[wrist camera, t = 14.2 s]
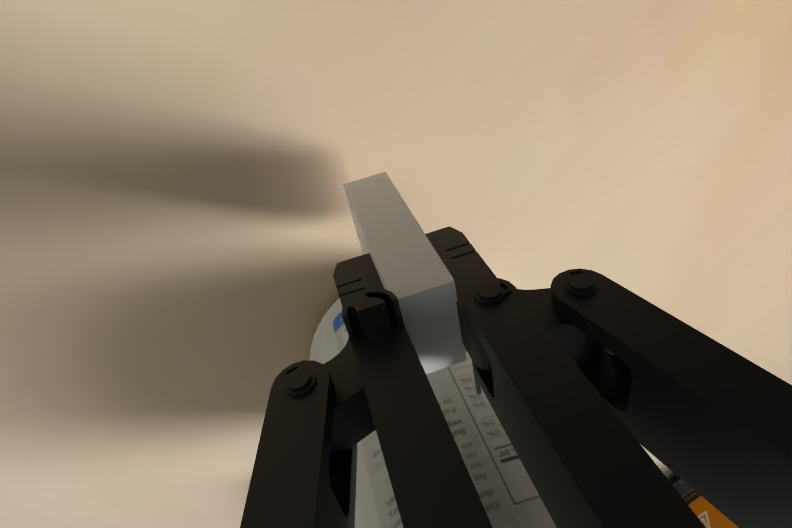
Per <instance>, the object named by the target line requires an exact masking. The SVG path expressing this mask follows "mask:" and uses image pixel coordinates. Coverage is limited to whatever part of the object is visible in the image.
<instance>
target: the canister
mask: <svg viewBox="0 0 792 528" xmlns="http://www.w3.org/2000/svg"><path fill="white" fill-rule="evenodd" d="M671 484H672V485H673V487H674V488H675V489H676V490H677V492H678V493H679V494H680V495H681V497H682V498H683V499H684V500H685V502H686V503H687V504H688V506H689V507H690V508H691V509H692V511H693V512H694V513H695V514H696V516H697V517H698V518H699V519H700V521H701V522H702V523H703V524H704V526H705V527H706V528H739V527H737V526H736V525H735V524H734V523H733V522H731V521H730V520H729V519H728V518H727V517H726V516H724V515H723V514H722V513H721V512H720V511H719V510H717V509H716V508H715V507H714V506H713V505H712V504H710V503H709V502H708V501H707V500H706V499H704V498H703V497H702V496H701V495H700V494H699V493H697V492H696V491H695V490H694V489H693V488H692V487H690V486H689V485H688V484H687V483H686V482H684V481H683V480H682V479H681V478H680V477H677V478H676V479H675V480H674V481H673V482H672V483H671Z"/></svg>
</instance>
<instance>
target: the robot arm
mask: <svg viewBox="0 0 792 528" xmlns="http://www.w3.org/2000/svg"><path fill="white" fill-rule="evenodd" d="M343 186H344V189H345V193H346V196H347V200H348V203H349V207H350V210H351V214H352V217H353V221H354V224H355V228H356V231H357V235H358V238H359V242H360V245H361V249H362V252H363V254H364V255H362V256H358V257H355V258H352V259H349V260H346V261H343V262H340V263H337V265H336V268H335V271H334V274H333V276H334V280H335V283H336V287H337V290H338V294H339V298H340V301H341V305H342V318H343V321H344V324H345V327H346V329H347V332H348V335H349V337H348V341H347V343H346V345H345V347H344V348H343V349H342V350H341V352H340V353H339V354H338V355H336V356H335V357H334V358H332V359H331V360H329V361H328V362H326V363H325V364H322V363H319V362H317V361H314V360H309V361H301V362H297V363H294V364H292V365H290V366H289V367H287V368H285V369H284V370H283V371H282V372H281V373H280V374H279V375H278V376H277V377H276V378H275V380H274V383H273V385H272V387H271V392H270V396H269V400H268V405H267V409H266V414H265V418H264V423H263V427H262V432H261V436H260V441H259V445H258V450H257V454H256V459H255V463H254V468H253V472H252V477H251V481H250V486H249V490H248V495H247V499H246V504H245V508H244V513H243V517H242V522H241V526H240V528H355V502H356V476H357V450H358V447H357V443H358V442H360V441H361V440H362V439H364V438H365V437H367V436H368V435H369V434H371V433H372V432H373V431H375V430H376V432H377V436H378V439H379V443H380V446H381V450H382V454H383V457H384V461H385V464H386V468H387V471H388V475H389V478H390V482H391V485H392V489H393V492H394V496H395V499H396V503H397V506H398V510H399V514H400V517H401V521H402V524H403V528H493V527H492V525H491V522H490V520H489V518H488V516H487V513H486V511H485V509H484V506H483V504H482V502H481V500H480V497H479V495H478V493H477V490H476V488H475V486H474V483H473V481H472V479H471V477H470V474H469V472H468V470H467V467H466V465H465V463H464V460H463V458H462V456H461V454H460V451H459V449H458V447H457V444H456V442H455V440H454V438H453V435H452V433H451V431H450V428H449V426H448V424H447V421H446V419H445V417H444V415H443V412H442V410H441V408H440V405H439V403H438V401H437V399H436V396H435V394H434V392H433V389H432V387H431V385H430V382H429V380H428V378H427V376H426V374H429V373H432V372H434V371H437V370H440V369H443V368H446V367H449V366H452V365H455V364H457V363H460V362H463V361H466V360H467V358H466V352H465V348H466V350H467V352H468V354H469V356H470V357H471V359H472V366H473V372H474V379H475V386H476V391H477V395H478V394H481V388H482V390H483V392H484V394H485V395H486V397H487V399H488V401H489V403H490V405H491V407H492V408H493V410H494V412H495V414H496V416H497V418H498V420H499V421H500V423H501V425H502V427H503V429H504V431H505V433H506V434H507V436H508V438H509V440H510V442H511V444H512V446H513V447H514V449H515V451H516V453H517V455H518V457H519V459H520V460H521V462H522V464H523V466H524V468H525V470H526V472H527V474H528V475H529V477H530V479H531V481H532V483H533V485H534V487H535V488H536V490H537V492H538V494H539V496H540V498H541V500H542V501H543V503H544V505H545V507H546V509H547V511H548V513H549V514H550V516H551V518H552V520H553V522H554V524H555V526H556V527H557V528H706V527H705V526H704V524H703V523H702V522H701V521H700V519H699V518H698V517H697V516H696V514H695V513H694V512H693V511H692V509H691V508H690V507H689V506H688V504H687V503H686V502H685V500H684V499H683V498H682V497H681V495H680V494H679V493H678V492H677V490H676V489H675V488H674V487H673V485H672V484H671V483H670V482H669V480H668V479H667V478H666V476H665V475H664V474H663V473H662V471H661V470H660V469H659V468H658V466H657V465H656V464H655V463H654V461H653V460H652V459H651V458H650V456H649V455H648V454H647V453H646V451H645V450H644V449H643V447H645V448H646V449H647V450H648V451H649V452H650V453H652V454H653V455H654V456H655V457H656V458H657V459H659V460H660V461H661V462H662V463H663V464H664V465H666V466H667V467H668V468H669V469H670V470H672V471H673V472H674V473H675V474H676V475H677V476H679V477H680V478H681V479H682V480H683V481H684V482H686V483H687V484H688V485H689V486H690V487H692V488H693V489H694V490H695V491H696V492H697V493H699V494H700V495H701V496H702V497H703V498H704V499H706V500H707V501H708V502H709V503H710V504H712V505H713V506H714V507H715V508H716V509H717V510H719V511H720V512H721V513H722V514H723V515H724V516H726V517H727V518H728V519H729V520H730V521H731V522H733V523H734V524H735V525H736V526H737V527H739V528H792V385H790V384H788V383H787V382H785V381H783V380H782V379H780V378H778V377H776V376H775V375H773V374H771V373H770V372H768V371H766V370H764V369H763V368H761V367H759V366H758V365H756V364H754V363H752V362H751V361H749V360H747V359H746V358H744V357H742V356H740V355H739V354H737V353H735V352H734V351H732V350H730V349H728V348H727V347H725V346H723V345H722V344H720V343H718V342H716V341H715V340H713V339H711V338H710V337H708V336H706V335H704V334H703V333H701V332H699V331H698V330H696V329H694V328H692V327H691V326H689V325H687V324H686V323H684V322H682V321H680V320H679V319H677V318H675V317H674V316H672V315H670V314H668V313H667V312H665V311H663V310H662V309H660V308H658V307H657V306H655V305H653V304H651V303H650V302H648V301H646V300H645V299H643V298H641V297H639V296H638V295H636V294H634V293H633V292H631V291H629V290H627V289H626V288H624V287H622V286H621V285H619V284H617V283H615V282H614V281H612V280H610V279H609V278H607V277H605V276H603V275H602V274H599V273H597V272H594V271H592V270H586V269H573V270H567V271H565V272H562V273H560V274H558V275H557V276H556V277H555V278H554V279H553V281H552V284H551V288H548V289H537V290H520V289H516V287H515V286H514V285H512V284H511V283H510V282H509V281H506V280H503V279H500V278H497V277H496V276H495V275H494V274H493V272H492V271H491V270H490V268H489V267H488V266H487V264H486V263H485V262H484V260H483V259H482V258H481V257H480V255H479V254H478V253H477V252H476V251H475V249H474V247H473V246H472V245H471V244H470V242H469V241H468V240H467V238H466V237H465V236H464V234H463V233H462V232H460V231H458V230H456V229H454V228H452V227H446V228H443V229H440V230H437V231H434V232H431V233H427V234H425V233H424V232H423V230H422V229H421V227H420V225H419V224H418V222H417V221H416V219H415V218H414V216H413V214H412V213H411V211H410V210H409V208H408V207H407V205H406V203H405V202H404V200H403V199H402V197H401V195H400V194H399V192H398V191H397V189H396V188H395V186H394V184H393V183H392V181H391V180H390V178H389V177H388V175H387V173H386V172H383V173H380V174H377V175H373V176H370V177H367V178H363V179H360V180H357V181H353V182H350V183H347V184H343ZM639 443H640V444H641V445H642V446H643V447H642V446H641V445H640V444H639Z"/></svg>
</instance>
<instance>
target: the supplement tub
mask: <svg viewBox="0 0 792 528" xmlns="http://www.w3.org/2000/svg"><path fill="white" fill-rule="evenodd" d="M348 337H349V335H348V332H347V329H346V327H345V324H344V321H343V318H342V305H341V301H340V298H339V299H338V300H337V301H336V302H335V303H334V304H333V305H332V306H331V307H330V308H329V310H328V311H327V312H326V314H325V315H324V317H323V318H322V320H321V322H320V323H319V325H318V327H317V330H316V332H315V335H314V337H313V341H312V345H311V350H310V360H314V361H317V362H319V363H322V364H325V363H326V362H328V361H329V360H331V359H332V358H334V357H335V356H336V355H338V354H339V353H340V352H341V350H342V349H343V348H344V347H345V345H346V343H347V341H348ZM465 352H466V358H467V360H466V361H463V362H460V363H457V364H455V365H452V366H449V367H446V368H443V369H440V370H437V371H434V372H432V373H429V374H426V376H427V378H428V380H429V382H430V385H431V387H432V389H433V392H434V394H435V396H436V399H437V401H438V403H439V405H440V408H441V410H442V412H443V415H444V417H445V419H446V421H447V424H448V426H449V428H450V431H451V433H452V435H453V438H454V440H455V442H456V444H457V447H458V449H459V451H460V454H461V456H462V458H463V460H464V463H465V465H466V467H467V470H468V472H469V474H470V477H471V479H472V481H473V483H474V486H475V488H476V490H477V493H478V495H479V497H480V500H481V502H482V504H483V506H484V509H485V511H486V513H487V516H488V518H489V520H490V522H491V525H492V527H493V528H557V527H556V526H555V524H554V522H553V520H552V518H551V516H550V514H549V513H548V511H547V509H546V507H545V505H544V503H543V501H542V500H541V498H540V496H539V494H538V492H537V490H536V488H535V487H534V485H533V483H532V481H531V479H530V477H529V475H528V474H527V472H526V470H525V468H524V466H523V464H522V462H521V460H520V459H519V457H518V455H517V453H516V451H515V449H514V447H513V446H512V444H511V442H510V440H509V438H508V436H507V434H506V433H505V431H504V429H503V427H502V425H501V423H500V421H499V420H498V418H497V416H496V414H495V412H494V410H493V408H492V407H491V405H490V403H489V401H488V399H487V397H486V395H485V394H484V392H483V390H482V388H481V394H478V395H477V391H476V386H475V379H474V372H473V366H472V359H471V357H470V356H469V354H468V352H467V350H466V348H465ZM357 447H358V450H357V476H356V502H355V528H403V524H402V521H401V517H400V514H399V510H398V506H397V503H396V499H395V496H394V492H393V489H392V485H391V482H390V478H389V475H388V471H387V468H386V464H385V461H384V457H383V454H382V450H381V446H380V443H379V439H378V436H377V432H376V430H375V431H373V432H372V433H371V434H369V435H368V436H367V437H365V438H364V439H362V440H361V441H360V442H358V443H357Z"/></svg>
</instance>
